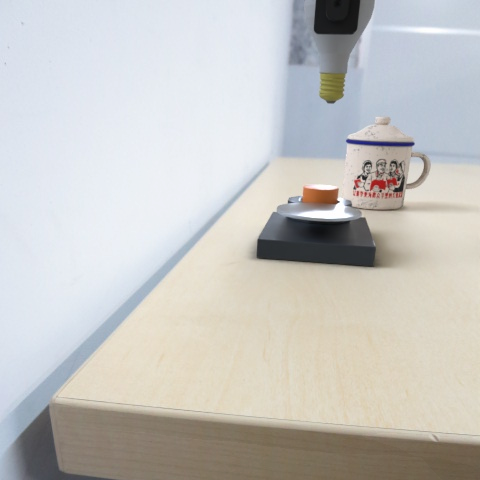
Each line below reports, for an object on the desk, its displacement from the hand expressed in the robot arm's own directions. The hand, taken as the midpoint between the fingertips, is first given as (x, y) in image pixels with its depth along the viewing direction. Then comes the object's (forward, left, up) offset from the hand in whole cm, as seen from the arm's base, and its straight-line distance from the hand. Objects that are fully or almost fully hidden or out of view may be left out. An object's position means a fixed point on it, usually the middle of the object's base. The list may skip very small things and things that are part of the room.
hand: (334, 37), depth 40 cm
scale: (-1, -2, -17) cm, 18 cm away
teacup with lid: (-21, -21, -18) cm, 34 cm away
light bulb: (0, 0, -5) cm, 5 cm away
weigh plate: (0, +1, -14) cm, 14 cm away
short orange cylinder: (-3, -6, -14) cm, 16 cm away
